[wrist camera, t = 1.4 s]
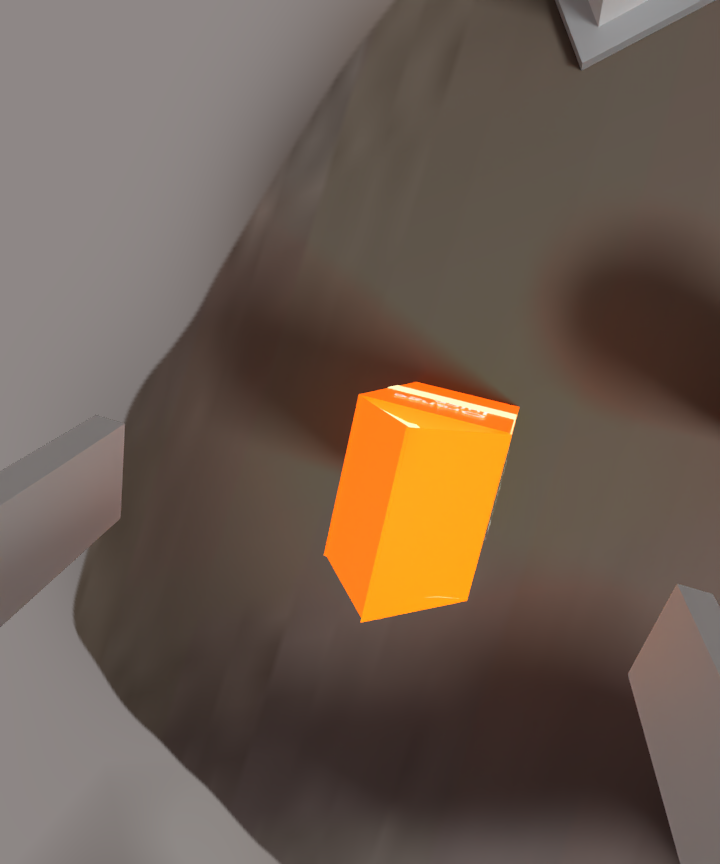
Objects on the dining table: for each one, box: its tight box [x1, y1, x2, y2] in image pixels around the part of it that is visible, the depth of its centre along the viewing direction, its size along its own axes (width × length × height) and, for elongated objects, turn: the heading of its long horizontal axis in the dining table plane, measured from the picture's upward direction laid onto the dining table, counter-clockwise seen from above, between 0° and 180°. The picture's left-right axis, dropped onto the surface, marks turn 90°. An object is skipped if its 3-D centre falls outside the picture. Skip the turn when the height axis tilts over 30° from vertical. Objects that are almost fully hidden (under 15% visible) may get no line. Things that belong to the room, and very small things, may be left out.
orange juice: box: [324, 382, 519, 623], centre depth 34 cm, size 8×9×20 cm
